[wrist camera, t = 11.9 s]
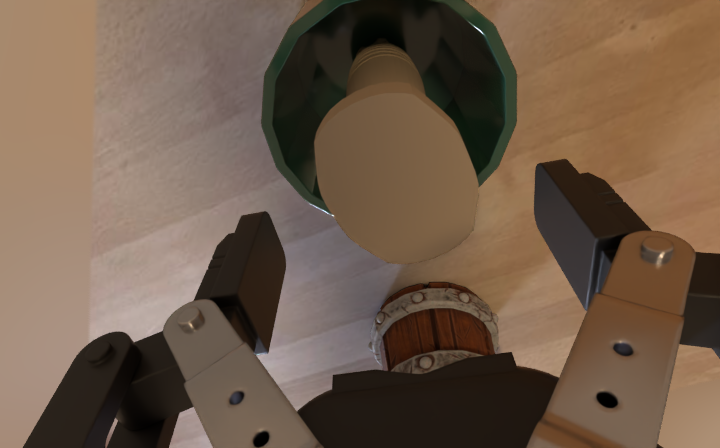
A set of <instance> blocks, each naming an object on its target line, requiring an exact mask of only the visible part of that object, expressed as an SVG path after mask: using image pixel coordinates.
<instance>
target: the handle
mask: <svg viewBox="0 0 720 448" xmlns="http://www.w3.org/2000/svg"><path fill="white" fill-rule="evenodd" d="M314 147H315V160H316V171H317V180H318V185H319V189H320V193H321V196H322V198H323V200H324V202H325V204H326V206H327V207H328V209H329V210H330V212H331V213H332V215H333V216H334V218H335V220H336V221H337V223H338V224H339V226H340V227H341V229H342V230H343V231H344V232H345V233H346V235H347V236H348V237H349V238H350V239H351V240H353V241H354V242H355V243H356V244H358V245H359V246H361V247H362V248H364V249H365V250H367V251H369V252H370V253H372V254H373V255H375V256H377V257H379V258H380V259H382V260H384V261H385V262H387V263H392V264H412V263H417V262H422V261H426V260H429V259H432V258H435V257H438V256H440V255H442V254H444V253H447V252H448V251H450V250H452V249H453V248H455V247H457V246H458V245H460V244H461V243H462V242H463V241H464V240H465V239H466V238H467V237H468V236H469V235H470V234H471V233H472V232H473V230H474V224H475V218H476V212H477V205H478V198H479V184H478V180H477V176H476V172H475V170H474V167H473V165H472V162H471V159H470V157H469V154H468V152H467V149H466V147H465V145H464V142H463V140H462V137H461V135H460V133H459V131H458V129H457V127H456V125H455V123H454V122H453V120H452V119H451V118H450V117H449V116H448V115H447V114H446V113H445V112H443V111H442V110H441V109H440V108H439V107H438V106H437V105H436V104H435V103H433V102H432V101H431V100H430V99H429V98H428V97H426V95H425V90H424V85H423V82H422V79H421V77H420V75H419V72H418V70H417V68H416V66H415V65H414V63H413V61H412V60H411V58H410V57H409V56H408V55H407V53H406V52H405V51H404V50H403V49H401V48H400V47H398V46H396V45H394V44H392V43H389V42H388V41H387V39H386V38H377V40H376V41H375V42H374V43H373V44H371V45H369V46H366V47H361V48H360V49H359V50H358V52H357V54H356V58H355V60H354V62H353V64H352V66H351V69H350V72H349V76H348V81H347V91H346V97H345V98H344V99H342V100H341V101H340V102H338V103H337V104H336V105H335V106H334V107H333V108H331V109H330V110H329V112H328V113H327V115H326V116H325V117H324V119H323V120H322V122H321V124H320V126H319V128H318V130H317V132H316V136H315V141H314Z"/></svg>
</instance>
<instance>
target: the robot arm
mask: <svg viewBox="0 0 720 448" xmlns="http://www.w3.org/2000/svg"><path fill="white" fill-rule="evenodd" d="M534 215H535V221H536V224H537V227H538V229H539V231H540V233H541V235H542V236H543V238H544V240H545V241H546V243H547V245H548V247H549V248H550V250H551V252H552V254H553V255H554V257H555V259H556V260H557V262H558V264H559V266H560V267H561V269H562V271H563V272H564V274H565V276H566V278H567V279H568V281H569V283H570V285H571V286H572V288H573V290H574V291H575V293H576V295H577V297H578V298H579V300H580V302H581V304H582V305H583V307H584V309H585V310H586V311H587V313H586V315H585V318H584V320H583V322H582V325H581V327H580V330H579V332H578V334H577V337H576V339H575V342H574V344H573V346H572V349H571V351H570V354H569V356H568V358H567V361H566V363H565V366H564V368H563V370H562V373H561V375H560V378H558V377H556V376H553V375H551V374H549V373H546V372H543V371H540V370H536V369H532V368H527V367H521V366H516V363H515V360H514V357H513V355H512V352H508V353H500V354H492V355H485V356H477V357H469V358H464V359H462V360H459V361H456V362H454V363H451V364H448V365H446V366H443V367H440V368H438V369H435V370H432V371H429V372H427V373H423V374H413V373H403V372H394V371H384V370H368V371H361V372H353V373H345V374H337V375H333V384H332V390H329V391H327V392H325V393H323V394H321V395H319V396H317V397H315V398H314V399H312V400H311V401H309V402H308V403H307V404H305V405H304V406H303V407H302V408H300V409H299V410H298V411H297V412H296V410H295V409H294V407H293V406H292V405H291V403H290V402H289V400H288V399H287V398H286V396H285V395H284V394H283V392H282V391H281V389H280V388H279V387H278V385H277V384H276V382H275V381H274V380H273V378H272V377H271V376H270V374H269V373H268V371H267V370H266V369H265V367H264V366H263V365H262V363H261V362H260V360H259V359H258V358H257V356H256V355H260V354H268V352H269V347H270V342H271V337H272V333H273V328H274V323H275V318H276V313H277V308H278V304H279V299H280V294H281V289H282V284H283V280H284V275H285V270H286V259H285V254H284V250H283V247H282V245H281V242H280V240H279V237H278V235H277V232H276V230H275V227H274V225H273V222H272V220H271V217H270V215H269V214H268V213H267V212H266V211H264V212H259V213H253V214H248V215H243V216H241V218H240V220H239V223H238V225H237V228H236V230H235V233H231V234H228V235H227V236H226V237H225V238H224V239H223V240H222V241H221V242H220V243H219V244H218V245H217V248H216V250H215V252H214V255H213V257H212V258H213V260H211V262H210V264H209V266H208V270H207V271H206V273H205V275H204V278H203V280H202V282H201V285H200V287H199V289H198V292H197V294H196V296H195V299H194V301H192V302H190V303H187V304H185V305H183V306H182V307H180V308H179V309H177V310H176V311H175V312H174V313H173V314H172V315H171V316H170V317H169V318H168V320H167V321H166V323H165V325H164V329H163V331H162V332H159V333H157V334H154V335H152V336H149V337H147V338H144V339H142V340H139V341H137V342H133V341H132V339H131V338H130V337H129V336H128V335H127V334H126V333H124V332H112V333H108V334H105V335H103V336H101V337H99V338H97V339H95V340H93V341H92V342H91V343H89V344H88V345H87V346H86V347H84V348H83V349H82V350H81V351H80V353H79V354H78V355H77V356H76V358H75V359H74V361H73V362H72V364H71V366H70V368H69V369H68V371H67V373H66V374H65V376H64V378H63V380H62V382H61V383H60V385H59V386H58V388H57V390H56V392H55V393H54V395H53V397H52V398H51V400H50V402H49V404H48V405H47V407H46V409H45V410H44V412H43V414H42V416H41V417H40V419H39V421H38V422H37V424H36V426H35V427H34V429H33V431H32V433H31V435H30V436H29V438H28V440H27V441H26V443H25V445H24V446H23V448H105V443H106V438H107V436H108V433H109V431H110V428H111V426H112V424H113V422H114V419H115V418H116V419H117V420H118V422H117V425H116V427H115V429H114V432H113V434H112V437H111V439H110V441H109V444H108V446H107V448H169V445H170V442H171V438H172V435H173V432H174V428H175V425H176V422H177V419H178V415H179V413H180V412H183V411H185V410H187V409H189V408H192V407H194V408H195V410H196V413H197V415H198V417H199V419H200V421H201V423H202V425H203V427H204V429H205V432H206V434H207V436H208V438H209V440H210V442H211V444H212V446H213V448H663V447H661V446H660V445H659V444H657V442H658V438H659V433H660V429H661V424H662V419H663V415H664V410H665V406H666V401H667V396H668V392H669V388H670V383H671V379H672V374H673V369H674V365H675V360H676V356H677V351H678V347H679V344H682V345H690V346H699V347H707V348H712V349H713V350H714V351H715V353H716V354H717V356H718V357H719V358H720V254H715V253H701V252H695V251H694V249H693V248H692V246H691V245H690V244H689V243H687V242H686V241H685V240H683V239H681V238H679V237H677V236H675V235H672V234H669V233H665V232H660V231H652V230H651V229H650V228H649V227H648V226H647V225H646V224H645V223H644V222H643V221H642V219H641V218H640V217H639V216H638V215H637V214H636V213H635V212H634V211H633V210H632V209H631V208H630V207H629V206H628V205H627V204H626V202H623V199H622V198H621V197H620V196H619V195H618V194H617V193H615V191H614V190H613V189H612V188H611V187H610V185H609V184H608V183H607V182H606V181H605V180H603V179H601V178H599V177H597V176H594V175H592V174H590V173H582V174H579V173H578V171H577V170H576V169H575V168H574V167H573V166H572V164H571V163H570V162H569V161H568V160H567V159H562V160H556V161H550V162H545V163H539V164H537V166H536V170H535V195H534Z"/></svg>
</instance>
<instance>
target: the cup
mask: <svg viewBox="0 0 720 448" xmlns="http://www.w3.org/2000/svg"><path fill="white" fill-rule="evenodd" d="M377 38H386V39H387V41H388V42H389V43H392V44H394V45H396V46H398V47H400V48H401V49H403V50H404V51H405V52H406V53H407V55H408V56H409V57H410V58H411V60H412V61H413V63H414V65H415V66H416V68H417V70H418V72H419V75H420V77H421V79H422V82H423V85H424V90H425V95H426V97H428V98H429V99H430V100H431V101H432V102H433V103H435V104H436V105H437V106H438V107H439V108H440V109H441V110H442V111H443V112H445V113H446V114H447V115H448V116H449V117H450V118H451V119H452V120H453V122H454V123H455V125H456V127H457V129H458V131H459V133H460V135H461V137H462V140H463V142H464V145H465V147H466V149H467V152H468V154H469V157H470V159H471V162H472V165H473V167H474V170H475V172H476V176H477V180H478V184H479V187H480V186H481V185H482V184H483V183H484V182H485V181H486V179H487V178H488V177H489V176H490V175H491V174H492V173H493V172H494V171H495V170H496V169H497V168H498V166H499V164H500V162H501V159H502V157H503V155H504V152H505V150H506V147H507V145H508V143H509V140H510V138H511V136H512V133H513V131H514V128H515V126H516V122H517V74H516V70H515V68H514V65H513V63H512V61H511V59H510V57H509V55H508V52H507V50H506V48H505V46H504V44H503V41H502V39H501V37H500V35H499V33H498V31H497V28H496V26H494V24H493V23H492V22H491V21H489V20H488V19H487V18H486V17H485V16H483V15H482V14H481V13H480V12H478V11H477V10H476V9H475V8H473V7H472V6H471V5H470V4H468V3H467V2H466V1H465V0H307V1H306V3H305V4H304V6H303V7H302V9H301V10H300V12H299V13H298V15H297V16H296V18H295V19H294V21H293V22H292V24H291V25H290V26H289V28H288V30H287V32H286V34H285V36H284V38H283V39H282V41H281V43H280V45H279V47H278V49H277V51H276V53H275V55H274V57H273V59H272V61H271V63H270V64H269V66H268V68H267V70H266V72H265V75H264V85H263V101H262V117H261V124H262V125H261V126H262V129H263V132H264V134H265V137H266V140H267V143H268V146H269V148H270V151H271V154H272V157H273V160H274V163H275V165H276V168H277V169H278V170H279V172H280V173H281V174H282V175H283V176H284V177H285V178H286V180H287V181H288V182H289V183H290V184H291V185H292V186H293V187H294V189H295V190H296V191H297V192H298V193H299V194H300V195H301V196H302V198H303V199H304V200H305V201H306V202H308V203H310V204H312V205H314V206H316V207H317V208H319V209H321V210H323V211H325V212H327V213H329V214H331V215H332V213H331V212H330V210H329V209H328V207H327V206H326V204H325V202H324V200H323V198H322V196H321V193H320V189H319V185H318V180H317V171H316V160H315V147H314V141H315V136H316V132H317V130H318V128H319V126H320V124H321V122H322V120H323V119H324V117H325V116H326V115H327V113H328V112H329V110H330V109H331V108H333V107H334V106H335V105H336V104H337V103H338V102H340V101H341V100H342V99H344V98H345V97H346V91H347V81H348V76H349V72H350V69H351V66H352V64H353V62H354V60H355V58H356V54H357V52H358V50H359V49H360V48H361V47H366V46H369V45H371V44H373V43H374V42H375V41H376V40H377ZM332 216H333V215H332Z"/></svg>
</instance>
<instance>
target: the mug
mask: <svg viewBox="0 0 720 448" xmlns="http://www.w3.org/2000/svg"><path fill="white" fill-rule="evenodd" d="M497 321H498V316H497V315H496V314H494V313H492V312H491V310H490V308H489V306H488V305H487V304H486V303H484V302H483V301H482V300H480V299H478V297H477V295H476V294H474V293H473V292H471V291H470V290H468V289H467V288H465V287H461V286H458V285H454V284H450V283H429V285H428V287H425V286H424V285H423V284H419V285H415V286H411V287H407V288H405V289H403V290H402V291H400V292H398V293H396V294H395V295H393V296H391V297H390V298H389V299H388V300H387V301H386V302H385V303H384V304H383V306H382V307H381V312H378V314H377V317H376V318H375V319H374V323H373V326H372V330H371V333H370V335H371V342H370V343H369V350H370V351H372V352H374V356H375V359H376V361H377V362H378V363H379V364H380V365H381V366H382V367H383V370H384V371H394V372H403V373H413V374H423V373H427V372H429V371H432V370H435V369H438V368H440V367H443V366H446V365H448V364H451V363H454V362H456V361H459V360H462V359H464V358H469V357H477V356H485V355H492V354H495V351H496V350H497V348H498V347H497V346H498V327H497Z"/></svg>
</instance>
